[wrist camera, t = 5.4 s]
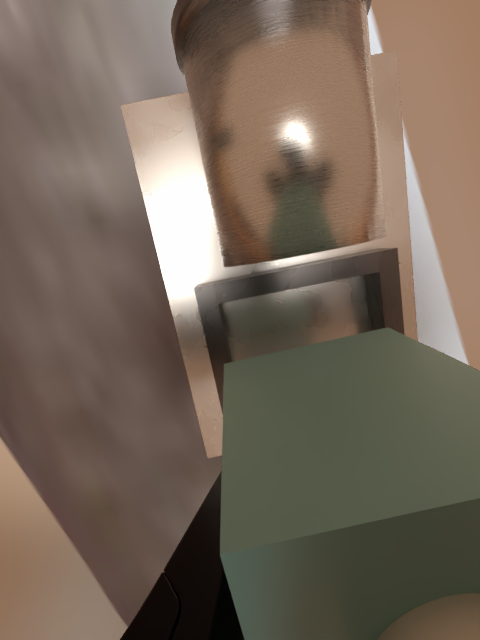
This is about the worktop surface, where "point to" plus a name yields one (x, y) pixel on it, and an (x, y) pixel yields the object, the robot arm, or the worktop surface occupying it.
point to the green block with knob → (352, 492)
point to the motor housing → (275, 185)
